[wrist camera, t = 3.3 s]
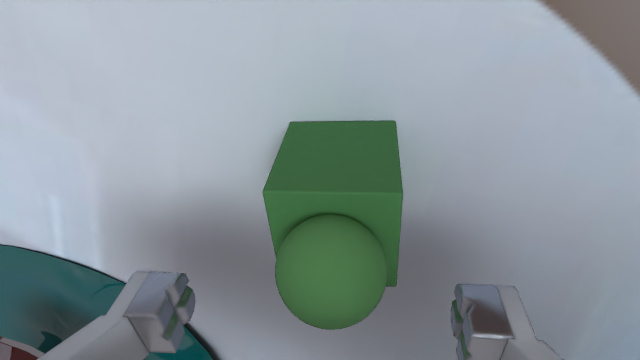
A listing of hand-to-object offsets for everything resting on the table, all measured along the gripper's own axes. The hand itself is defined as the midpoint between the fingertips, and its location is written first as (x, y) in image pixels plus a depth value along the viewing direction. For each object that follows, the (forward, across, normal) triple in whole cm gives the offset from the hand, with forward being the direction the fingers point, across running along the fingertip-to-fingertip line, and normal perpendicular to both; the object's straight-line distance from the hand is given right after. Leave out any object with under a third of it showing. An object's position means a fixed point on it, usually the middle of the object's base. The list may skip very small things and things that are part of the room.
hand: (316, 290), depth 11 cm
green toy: (+7, 0, 0) cm, 7 cm away
